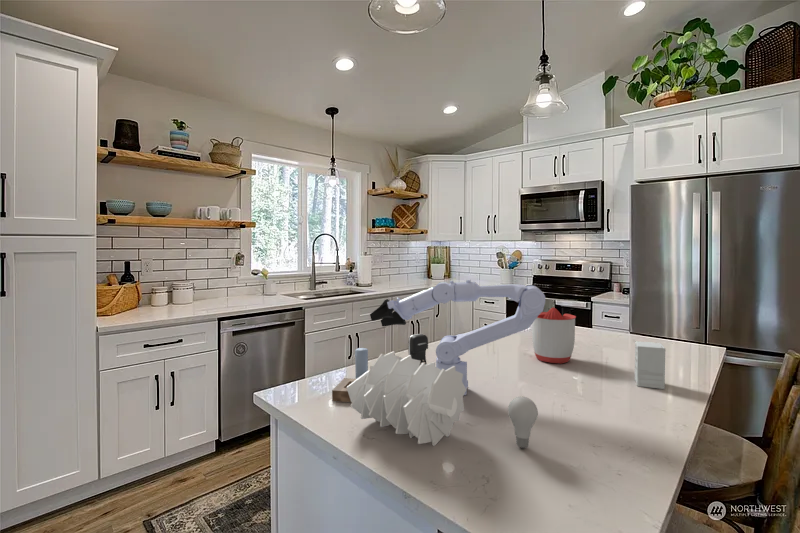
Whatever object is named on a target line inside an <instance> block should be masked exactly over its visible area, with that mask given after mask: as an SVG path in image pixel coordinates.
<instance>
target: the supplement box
mask: <svg viewBox="0 0 800 533" xmlns="http://www.w3.org/2000/svg"><path fill="white" fill-rule="evenodd" d="M665 375H666V348H665V346H664V345H663V344H662V343H661V342H653V341H652V342H651V341H650V342H649V341H637V340H636V341H634V381H635V383H636V386H637V387H641V388H648V389H649V388H650V389H658V390H665V388H666V387H665V382H666V378H665V377H666V376H665Z"/></svg>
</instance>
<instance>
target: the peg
mask: <svg viewBox="0 0 800 533" xmlns="http://www.w3.org/2000/svg"><path fill="white" fill-rule="evenodd" d="M354 353H355V354H354V355H355V356H354V357H355V358H354V359H355V362H354V363H355V370H354V371H355V379H358V378H359V377H360V376H362V375H363V374H364V373H366V372H367V371H368V370H369V359H368V358H369V356H368V354H369V349H368V348H365V347H358V348H356V349H355V351H354Z"/></svg>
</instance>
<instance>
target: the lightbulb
mask: <svg viewBox="0 0 800 533" xmlns="http://www.w3.org/2000/svg"><path fill="white" fill-rule="evenodd" d="M507 413H508V417H509V419H510V421H511V423H512V425H513V429H514V435H515V440H516V444H515V445H516V446H517V447H519V448H521V449H525V448H528V447H529V443H530V442H529V441H530V437H531V431H532V429H533V426H534V425H535V423H536V421H537V419H538V415H539V409H538V407H537V405H536V403H535V402H534V401H533V400H532V399H531V398H529V397H526V396H524V395H523V396H522V395H521V396H516V397H515V398H513V399H511V401H510V402H509V404H508V407H507Z"/></svg>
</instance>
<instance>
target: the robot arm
mask: <svg viewBox="0 0 800 533" xmlns="http://www.w3.org/2000/svg"><path fill="white" fill-rule="evenodd" d="M484 297H485V298H509V299H510V300H513V301H514V302H516V303H518V306H517V308H516V311H515V314H514V315H511V316H508V317H506V318H503V319H501V320H500V319H499V320H498V321H494V322H493V323H490V324H489V323H488V324H486V325H484V326H482V327H479V328H477V329H473V330H471V331H468V332H465V333H459V334H456V335H452V334H451V335H450V334H449V335H445V336H443V337H442V338H441V339H440V341H439V343H438V345H437V346H436V348H435V355H436V359H435V367H437V368H439V369H440V370H442V369H445V370H447V369H449V368H451V367H452V366H455V369H456V371H457V372H460V373H462V374H463V378H462V382H463V384H464V386H465V388H466V392H465V394H464V395H463V396H466V395H467V392H468V390H467V389H468V387H469V380H468V361H465V360H464V361H463V360H461V358H460V356H463V355H465V354H466V353H468V352H469V351H470V350H473V349H476V348H479V347H481V346H484V345H487V344H490V343H493V342H495V341H498V340H501V339H503V338H506V337H510V336H511V335H514V334H517V333H521V332H522V331H525V330H528V329H530V327H532V323H533V322H534V321H535V319H536V318H537V317H538V315H539V314H540V313H541V312H544V309H545V304H546V295H545V293H544V292H543V291H542V290H541V289H540V288H539V287H537V286H536V285H531V284H528V285H525V284H519V283H516V284H515V283H507V284H493V285H492V284H491V285H479V284H478V283H477V282H475V281H472V280H471V279H466V281H457V282H456V281H455V282H454V280H450V281H449V282H446V281H442V282H438V283H437V284H436V285H435V286H433V287H429V288H428V289H424V290H421V291H418V292H416V293H414V294H411V295H410V296H406V297H404V298H403V299H401V298H400V297H396V300H393V299H392V300H390V299H388V298H386V299H384V300H383V302H382V303H381V305H380V306H378V308H376V309H375V310H374V311H372V312H371V313H369V317H370V321H371V322H373V321H375V322H376V321H378V320H380V324H381V326H382V327H388V326H389V327H390V326H396V325H399V326H401V325H403V326H405V325H407V321H409V320H411V319H413V316H415V315H417V314H420V313H422V312H424V311H427V310H429V309H432V308H434V307H435V306H437V305H440V304H447V303H449V302H450V301H452V302H454V303H455V302H456V303H458V302H461V303H463V302H476V301H478V300H479V298H484Z"/></svg>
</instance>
